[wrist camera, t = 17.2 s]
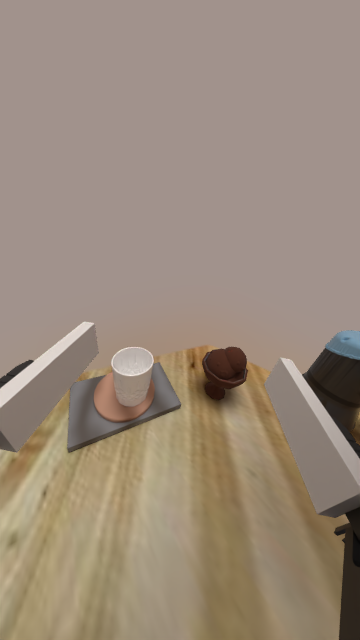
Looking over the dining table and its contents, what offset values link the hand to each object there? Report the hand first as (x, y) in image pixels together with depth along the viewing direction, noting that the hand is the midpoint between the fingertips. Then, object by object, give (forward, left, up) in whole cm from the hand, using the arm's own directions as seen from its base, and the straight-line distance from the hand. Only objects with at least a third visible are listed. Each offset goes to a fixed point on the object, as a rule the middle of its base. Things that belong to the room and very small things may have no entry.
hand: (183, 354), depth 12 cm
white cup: (+8, -14, -26) cm, 31 cm away
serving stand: (+10, -15, -29) cm, 34 cm away
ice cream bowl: (-12, -22, -29) cm, 38 cm away
